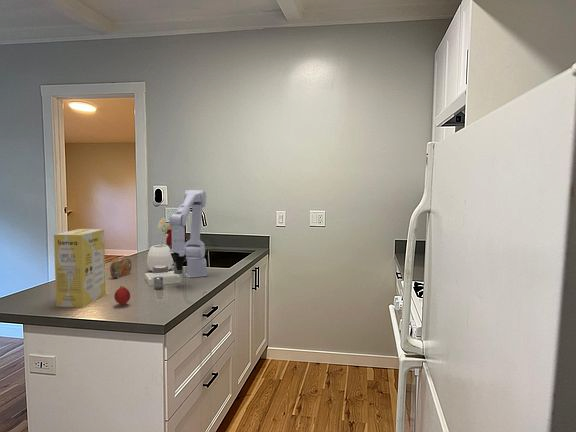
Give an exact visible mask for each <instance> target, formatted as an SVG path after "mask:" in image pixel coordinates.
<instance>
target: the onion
mask: <svg viewBox="0 0 576 432" xmlns="http://www.w3.org/2000/svg"><path fill="white" fill-rule="evenodd" d="M113 297H114V301H115V302H116V303H117V304H119V305H120V306H122V307H123V306H125V305H126V304H127V303H128V302H129V301H130V299H131V291H130V290H129V289H127V288H126V287H125V286H124V285H120V287H119V288H118V289H117V290H116V291H115V293H114V296H113Z"/></svg>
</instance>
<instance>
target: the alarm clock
mask: <svg viewBox="0 0 576 432" xmlns="http://www.w3.org/2000/svg"><path fill="white" fill-rule="evenodd" d="M165 228H166V230H167V233H165V234H168V236H167V239H166V245H167V246H169V248H170V249H171V248H172V230H171V229H170V224H168V226H166V227H165ZM187 239H188V235H187V234H186V240H187Z"/></svg>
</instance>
